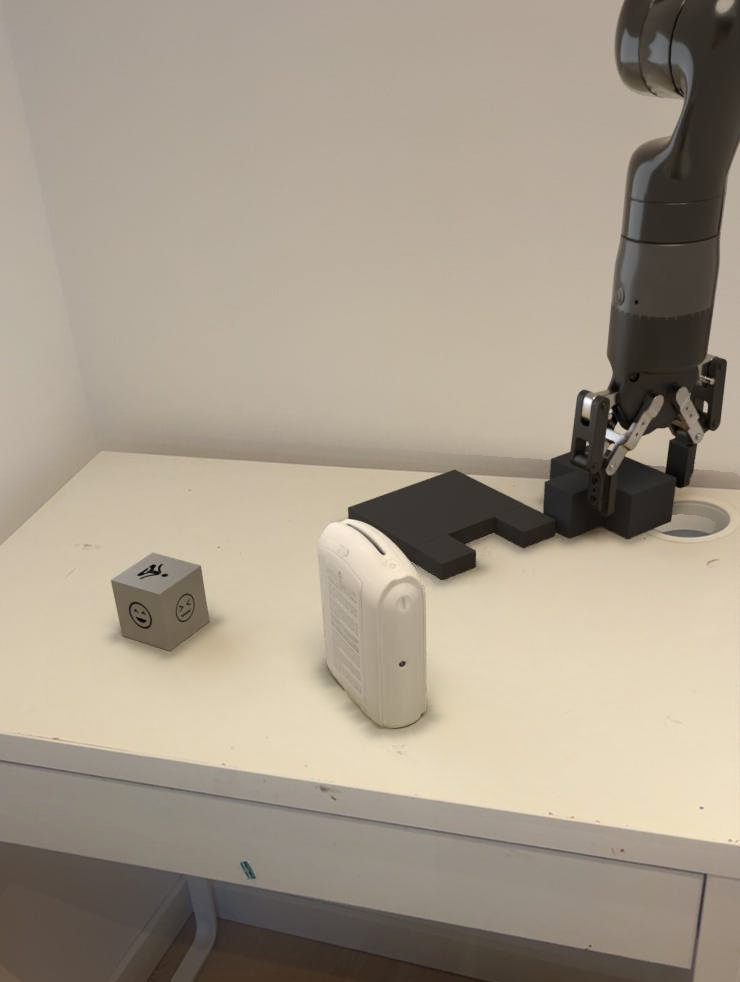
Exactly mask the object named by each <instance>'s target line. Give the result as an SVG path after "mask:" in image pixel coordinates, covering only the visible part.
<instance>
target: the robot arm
mask: <svg viewBox="0 0 740 982" xmlns="http://www.w3.org/2000/svg"><path fill="white" fill-rule="evenodd" d="M614 33H615V34H614V41H613V42H614V45H613V46H614V49H613V50H614V53H613V56H614V63H615V68H616V71H617V74H618V77H619V80H620V81H621V82H622V84H623V85H624V86H625V88H626V89H628V90H629V91H631V92H633V93H634V94H636V95H640V96H644V97H650V98H658V99H660V98H661V99H672V100H678V101H679V100H680V101H683V104H682V108H681V111H680V114H679V116H678V120H677V122H676V124H675V126H674V128H673V129H674V130H673V131H672V133H671V135H667V136H662V137H657V138H656V137H655V138H653V139H650V140H647V141H645V142H644V143H641V144H639V146H637V148H636V149H635V150H634V151H633V152H632V154H631V156H630V158H629V160H628V165H627V169H626V175H625V183H624V184H625V186H624V197H623V207H622V219H621V233H620V237H619V243H618V248H617V252H616V257H615V263H614V269H613V276H612V277H613V280H612V290H611V291H612V292H611V302H610V312H609V313H610V314H609V323H608V335H607V344H606V345H607V347H606V357H607V360H608V362H609V364H610V367H611V370H612V375H611V378H610V381H609V384H608V386H607V388H606V389H605V390H601V391H596V392H593V391H590V390H588V389H581V390H580V391H579V392H578V393H577V395H576V401H575V410H574V418H573V426H572V436H571V443H570V451H569V452H570V459H569V461H570V463H571V464H572V465H574V466H577V467H579V468H581V469H583V470H586V471H588V472H589V482H588V495H587V504H588V506H589V507H590V509H591V510H592V511H593V512H595V513H597V514H599V515H601V516H603V517H606V516H609V515H611V514H613V513H614V508H615V498H616V488H617V478H618V473H616V471H617V469H618V467H619V465H620V464H621V462H622V460H623V458H624V457H625V456H626V455H627V453H628V452H630V451H633V450H635V448H636V447H637V446H638V444H639V442H640V440H641V439H642V437H644V436H647V435H650V434H651V433H653V432H654V431H656V430H657V429H658V430H659V429H666V428H668V429H669V431H670V433H671V435H672V436H674V437H673V438H671V439H669V441H668V449H667V455H666V456H667V457H666V463H665V471H664V473H666V474H669V475H671V476H674V477H676V478H677V479H676V487H675V488H678V489H683V488H685V487H688V486H689V485H690V484H691V478H692V476H693V474H694V471H695V463H696V462H695V461H696V458H697V457H696V456H697V449H698V444H700V443H701V442H702V441H703V439H704V437H705V434H706V433H707V432H709V431H711V432H715V431H717V430H718V429H719V427H720V425H721V422H722V412H723V403H724V397H725V386H726V377H727V369H728V368H727V367H728V361H727V359H726V358H723V357H719V356H717V355H714V354H712V353H708V352H709V345H710V344H709V342H710V338H711V337H710V336H711V331H712V323H713V315H714V309H715V301H716V296H717V288H718V282H719V274H720V264H721V234H722V233H721V232H722V226H723V218H724V212H725V205H726V198H727V190H728V183H729V180H728V179H729V174H730V170H731V167H732V164H733V161H734V160H735V156H736V154H737V151H738V149H739V146H740V0H623V2H622V5H621V8H620V11H619V14H618V18H617V22H616V27H615V32H614ZM705 402H706V404H707V410H706V411H704V408H705ZM618 424H619V426H620V427H621V428H622V429H623V430H625V431H626V432H625V433H620V432H617V431H615V428H616V427H617V425H618ZM587 443H588V445H589V450H588V452H585V451H586V446H587ZM613 444H614V445H613ZM611 445H613V447H612V449H611V453H610V454H609V456H608V457H606V456H604V454H605V453H606V451H607V449H609V447H611Z"/></svg>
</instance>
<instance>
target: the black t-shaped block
mask: <svg viewBox="0 0 740 982" xmlns="http://www.w3.org/2000/svg"><path fill="white" fill-rule="evenodd" d="M588 450H589V444H588V445H587V444H586V451H585V452H588ZM611 451H612V449H609V448H608V449H607V451H606V453H605V454H604V456H606V457H608V456H609V454H610V453H611ZM569 459H570V451H568V452H565V453H563V454H559V455H557V456H554V457H552V458H551V459H550V466H549V479H548V480H546V481H544V488H543V489H544V490H543V507H542V508H543V509H542V513H543V514H545V515H547V516H549V517H551V518H553V519H555V520H556V524H555V533H558V534H559V535H561V536H564V537H566V538H567V539H572V538H575V537H577V536H580V535H582V534H584V533H587V532H590V531H592V530H595V529H597V528H600V527H602V528H604V529H605V530H608V531H610V532H611V533H613V534H616V535H618V536H620V537H622V538H624V539H626V540H629V539H633V538H634V537H637V536H639V535H642V534H644V533H647V532H649V531H651V530H654V529H656V528H659V527H661V526H664V525H666V524H669V523H671V522H672V517H673V509H674V502H675V494H676V488H677V487H676V479H677V478H676V477H674V476H671V475H669V474H666V473H665V471H662V470H660V469H656V468H655V467H652V466H650V465H647V464H645V463H642V462H640V461H637V460H635V459H634V458H633V459H632V458H630V457H628V456H626V455H625V457H624V458H623V460H622V462H621V464H620V465H619V467H618V469H617V471H616V473H618V478H617V488H616V498H615V508H614V513H613V514H611V515H609V516H606V517H603V516H601V515H599V514H597V513H595V512H593V511H592V510H591V509H590V507H589V506H588V504H587V495H588V482H589V472H588V471H586V470H583V469H581V468H579V467H577V466H574V465H572V464H571V463H570V461H569Z"/></svg>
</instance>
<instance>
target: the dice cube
mask: <svg viewBox="0 0 740 982" xmlns="http://www.w3.org/2000/svg"><path fill="white" fill-rule="evenodd" d="M110 585H111V588H112V593H113V599H114V602H115V607H116V612H117V617H118V621H119V627H120V633H121V636H122V637H124V638H128V639H131V640H134V641H138V642H141V643H143V644H147V645H150V646H153V647H156V648H159V649H162V650H165V651H169V652H171V651H172V650H173V649H175V648H176V647H177V646H179V645H180V644H181V643H182V642H184V641H185V640H187V639H188V638H189V637H190V636H192V635H194V634H196V632H197V631H198V630H200V629H202V628H203V627H204V626H206V625H207V624H208V623H210V615H209V609H208V602H207V596H206V590H205V589H206V588H205V583H204V575H203V569H202V565H200V564H197V563H193V562H190V561H186V560H182V559H179V558H175V557H171V556H168V555H164V554H160V553H156V552H151V553H149V554H148V555H146V556H145V557H144V558H142V559H140V560H139V561H136V563H134V564H133V565H131V566H130V567H128V568H127V569H125V570H123V571H122V572H121V573H119V574H118V575H116V576H115V577H113V578H111V579H110Z"/></svg>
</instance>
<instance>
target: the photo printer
mask: <svg viewBox="0 0 740 982" xmlns="http://www.w3.org/2000/svg"><path fill="white" fill-rule="evenodd" d="M411 562H412V561H411V560H409V559H408V558H407V557H406V556H405V555H404V553H403V552H402V551H401V550H400V549H399V548H398V547H397V546H396V545H395V544H394V543H393V542H392V541H391V540H390V539H389V538H388V537H387V536H385V535H384V534H383V533H382V532H380V531H379V530H377V529H376V528H374V527H372V526H370V525H368V524H366V523H364V522H361V521H357V520H352V519H348V518H345V519H343V520H342V521H339V522H337V521H336V522H335V521H334V522H331V523H329V524H328V525H327V526H326V527H325V528H324V530H323V531H322V533H321V535H320V537H319V541H318V544H317V564H318V575H319V588H320V590H319V591H320V602H321V614H322V615H321V617H322V629H323V643H324V655H325V661H326V664H327V667H328V670H329V672H330V673H331V674H332V676H333V677H334V678H335V679H336V681H337V682H338V683H339V684H340V686H341V687H342V688H343V689H344V691H345V692H346V693H347V694H348V695H349V696H350V697H351V699H352V700H353V701H354V702H355V703H356V704H357V705H358V707H360V709H361V710H362V712H363V713H365V714H366V716H368V717H369V718H370V719H371V720H372V722H374V723H375V724H377V725H378V726H379V727H383V726H384V727H386V728H388V729H397V728H403V727H407V726H409V725H411V724H413V723H415V722H417V721H418V720H419V719H420V718H421V715H422V714H424V713H425V712H426V709H427V701H428V700H427V698H428V697H427V693H428V692H427V690H428V688H427V687H428V686H427V684H428V683H427V680H428V679H427V599H426V598H427V597H426V596H427V595H426V590H425V586H424V584H423V581H422V578H421V576H420V575H419V573H418V572H417V570H416V568H415V567H414V565H413V564H412V563H411Z"/></svg>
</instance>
